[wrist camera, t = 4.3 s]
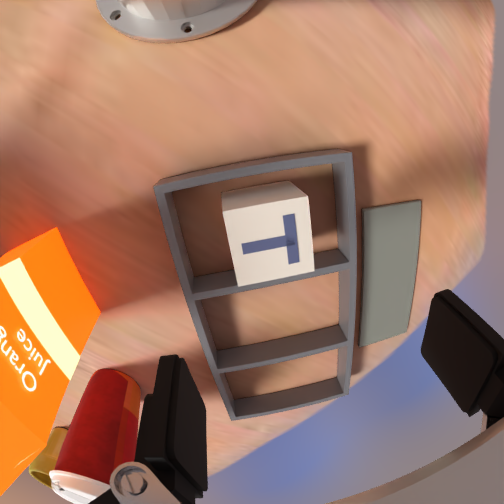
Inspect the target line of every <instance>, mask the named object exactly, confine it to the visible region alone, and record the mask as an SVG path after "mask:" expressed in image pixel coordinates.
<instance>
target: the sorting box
mask: <svg viewBox="0 0 504 504" xmlns="http://www.w3.org/2000/svg"><path fill="white" fill-rule="evenodd" d="M330 163H332V168H333V178H334V190H335V204H336V219H337V238H338V249H335V250H330V251H325V252H320V253H315V254H313V256H314V270H315V271H313V272H308V273H304V274H299V275H294V276H289V277H285V278H280V279H275V280H270V281H265V282H260V283H255V284H250V285H245V286H240V287H238V283H237V279H236V274H235V270H230V271H225V272H220V273H215V274H209V275H204V276H199V277H194V275H193V272H192V268H191V265H190V261H189V258H188V254H187V250H186V247H185V243H184V239H183V235H182V232H181V228H180V224H179V220H178V216H177V212H176V208H175V204H174V200H173V196H172V191H177V190H181V189H186V188H190V187H195V186H199V185H204V184H209V183H214V182H219V181H224V180H229V179H234V178H240V177H245V176H251V175H256V174H262V173H268V172H274V171H281V170H287V169H293V168H300V167H307V166H314V165H322V164H330ZM153 187H154V191H155V195H156V199H157V203H158V207H159V211H160V215H161V218H162V222H163V226H164V229H165V233H166V237H167V240H168V244H169V247H170V250H171V254H172V257H173V261H174V264H175V267H176V271H177V274H178V277H179V280H180V283H181V287H182V290H183V293H184V296H185V299H186V302H187V305H188V308H189V311H190V314H191V317H192V320H193V323H194V326H195V328H196V331H197V334H198V337H199V340H200V342H201V345H202V348H203V351H204V353H205V356H206V359H207V361H208V364H209V367H210V369H211V372H212V374H213V377H214V380H215V382H216V385H217V387H218V390H219V392H220V395H221V397H222V400H223V402H224V404H225V407H226V409H227V412H228V414H229V416H230V419H231V421H233V420H240V419H246V418H252V417H258V416H263V415H268V414H273V413H278V412H283V411H288V410H292V409H296V408H301V407H305V406H309V405H313V404H317V403H321V402H324V401H328V400H331V399H335V398H338V397H342V396H345V395H348V394H349V386H350V377H351V367H352V356H353V343H354V329H355V310H356V279H357V236H356V205H355V186H354V171H353V159H352V152H349V151H345V150H341V149H331V150H322V151H313V152H306V153H298V154H291V155H284V156H277V157H271V158H264V159H258V160H252V161H247V162H241V163H236V164H230V165H225V166H220V167H215V168H210V169H205V170H200V171H196V172H191V173H186V174H182V175H178V176H173V177H169V178H165V179H161V180H159V181H158V182H157V183H156V184H155V185H154V186H153ZM338 271H339V325H336V326H332V327H328V328H324V329H320V330H316V331H312V332H307V333H303V334H299V335H295V336H290V337H286V338H281V339H276V340H272V341H267V342H262V343H257V344H252V345H246V346H241V347H235V348H230V349H224V350H218V351H217V350H216V347H215V344H214V341H213V338H212V335H211V331H210V328H209V325H208V322H207V319H206V316H205V312H204V309H203V306H202V303H201V299H206V298H211V297H217V296H222V295H227V294H233V293H238V292H243V291H248V290H253V289H258V288H263V287H268V286H273V285H278V284H283V283H288V282H292V281H297V280H302V279H306V278H311V277H316V276H320V275H325V274H329V273H334V272H338ZM337 348H338V366H337V377H336V378H333V379H329V380H326V381H322V382H318V383H314V384H310V385H306V386H302V387H298V388H293V389H289V390H285V391H280V392H275V393H270V394H265V395H260V396H255V397H249V398H243V399H237V400H234V399H233V396H232V393H231V390H230V388H229V385H228V382H227V379H226V376H225V373H226V372H232V371H238V370H244V369H249V368H254V367H260V366H265V365H270V364H274V363H279V362H284V361H288V360H293V359H297V358H301V357H305V356H310V355H314V354H318V353H322V352H325V351H329V350H333V349H337Z"/></svg>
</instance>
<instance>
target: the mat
mask: <svg viewBox="0 0 504 504" xmlns="http://www.w3.org/2000/svg"><path fill="white" fill-rule="evenodd" d="M420 219H421V201H420V200H414V201H408V202H402V203H395V204H389V205H383V206H377V207H371V208H365V209H362V291H361V311H360V326H359V339H358V346H359V348H360V347H363V346H366V345H369V344H373V343H376V342H379V341H382V340H385V339H388V338H391V337H394V336H397V335H400V334H402V333H405V332H406V331H407V326H408V321H409V316H410V310H411V304H412V298H413V291H414V284H415V276H416V268H417V259H418V248H419V235H420Z"/></svg>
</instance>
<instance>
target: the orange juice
mask: <svg viewBox="0 0 504 504" xmlns="http://www.w3.org/2000/svg"><path fill="white" fill-rule="evenodd" d="M100 313H101V312H100V310H99V308H98V307H97V305H96V303H95V302H94V300H93V298H92V296H91V295H90V293H89V291H88V289H87V287H86V285H85V284H84V282H83V280H82V278H81V276H80V274H79V272H78V270H77V268H76V267H75V265H74V263H73V261H72V259H71V257H70V255H69V252H68V250H67V248H66V246H65V244H64V242H63V240H62V238H61V235H60V233H59V231H58V229H57V227H56V228H54V229H52V230H50V231H48V232H46V233H44V234H42V235H40V236H38V237H36V238H34V239H32V240H30V241H28V242H26V243H24V244H22V245H20V246H18V247H16V248H15V249H13V250H11V251H9V252H7V253H6V254H4V255H3V256H2V257H1V258H0V496H1V495H2V494H3V493H4V492H5V491H6V489H7V488H8V487H9V486H10V485H11V484H12V483H13V482H14V480H15V479H16V478H17V477H18V476H19V475H20V474H21V473H22V472H23V471H24V470H25V468H26V467H27V466H28V465H29V464H30V463H31V462H32V461H33V460H34V459H35V458H36V456H37V455H38V454H39V453H40V452H41V451H42V450H43V449H44V448H45V447H46V446H47V445H46V443H47V440H48V437H49V434H50V431H51V428H52V425H53V422H54V420H55V417H56V414H57V411H58V409H59V406H60V403H61V401H62V398H63V396H64V393H65V390H66V388H67V386H68V383H69V381H70V380H71V378H72V375H73V373H74V371H75V368H76V366H77V364H78V361H79V359H80V355H81V353H82V351H83V348H84V346H85V344H86V342H87V340H88V338H89V335H90V333H91V331H92V329H93V327H94V325H95V323H96V321H97V319H98V317H99V315H100Z"/></svg>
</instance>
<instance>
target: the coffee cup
mask: <svg viewBox="0 0 504 504" xmlns="http://www.w3.org/2000/svg"><path fill="white" fill-rule="evenodd" d="M140 395H141V392H140V387H139V385H138V384H137V383H136V382H135V380H133V379H132V378H131V377H130V376H128V375H126V374H124V373H122V372H120V371H117V370H113V369H100V370H97V371H96V372H94V374H93V375H92V377H91V379H90V381H89V383H88V385H87V387H86V389H85V391H84V394H83V396H82V398H81V400H80V403H79V405H78V408H77V410H76V412H75V415H74V417H73V420H72V422H71V425H70V427H69V429H68V432H67V434H66V437H65V439H64V442H63V444H62V447H61V450H60V453H59V456H58V459H57V462H56V465H55V468H54V470H52V471H50V472H49V475H50V478H51V479H52V484H51V486H52V489H53V490H54V492H56V493H57V494H58V495H60V496H61V497H63V498H64V499H66V500H68V501H70V502H72V503H75V504H88V503H90V502H91V501H93V500H94V499H96V498H97V497H98V496H100V495H101V494H103V493H104V492H106V491H107V490H108V489H110V477H111V474H112V473H113V471H114V470H115V469H116V468H117V467H118V466H119V465H121V464H123V463H126V462H134V459H135V452H136V445H137V432H138V420H139V408H140Z"/></svg>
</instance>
